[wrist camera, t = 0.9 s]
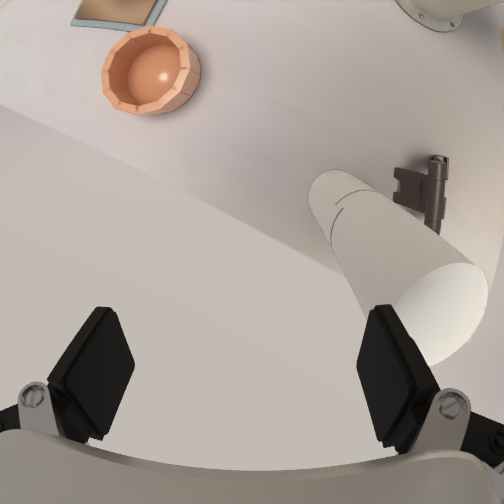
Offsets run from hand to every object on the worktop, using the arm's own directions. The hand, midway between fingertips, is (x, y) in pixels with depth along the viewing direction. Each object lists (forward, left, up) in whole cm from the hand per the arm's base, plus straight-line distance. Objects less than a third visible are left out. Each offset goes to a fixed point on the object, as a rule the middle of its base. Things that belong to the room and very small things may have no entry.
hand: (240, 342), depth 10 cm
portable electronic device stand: (-10, +20, -28) cm, 35 cm away
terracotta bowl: (-9, -16, -27) cm, 33 cm away
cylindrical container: (-3, +10, -28) cm, 29 cm away
